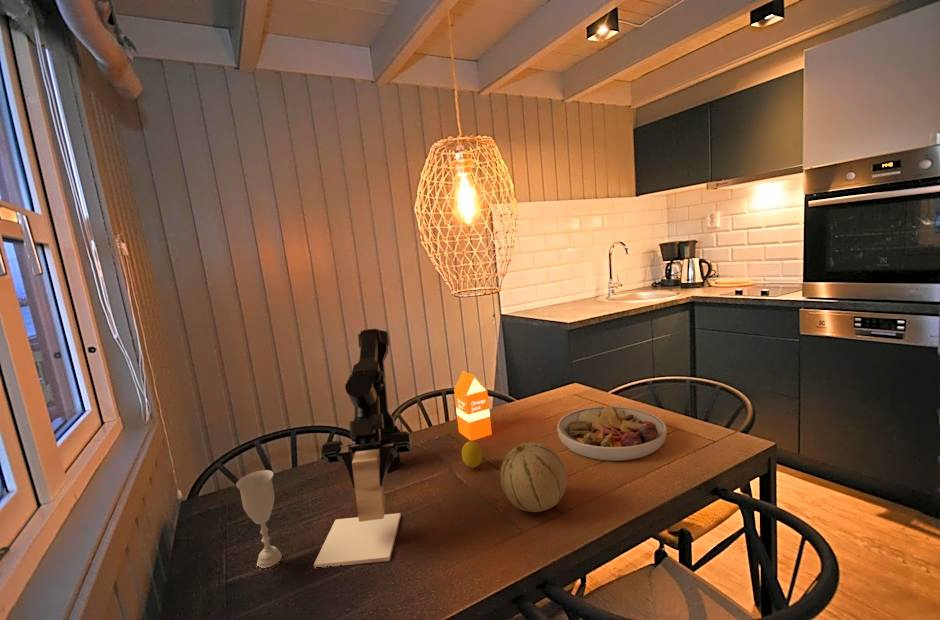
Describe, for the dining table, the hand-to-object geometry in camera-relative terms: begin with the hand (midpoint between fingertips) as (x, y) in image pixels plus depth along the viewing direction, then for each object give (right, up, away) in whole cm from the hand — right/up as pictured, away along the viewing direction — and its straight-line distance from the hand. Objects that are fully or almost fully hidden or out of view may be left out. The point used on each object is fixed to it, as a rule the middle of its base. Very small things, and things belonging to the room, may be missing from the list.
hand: (368, 487), depth 94 cm
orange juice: (+23, -3, +53) cm, 57 cm away
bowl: (+62, -2, +38) cm, 73 cm away
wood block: (0, -6, +2) cm, 7 cm away
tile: (-2, -13, +3) cm, 13 cm away
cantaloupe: (+36, -8, +9) cm, 38 cm away
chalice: (-20, -15, -1) cm, 25 cm away
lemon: (+22, -7, +29) cm, 37 cm away
